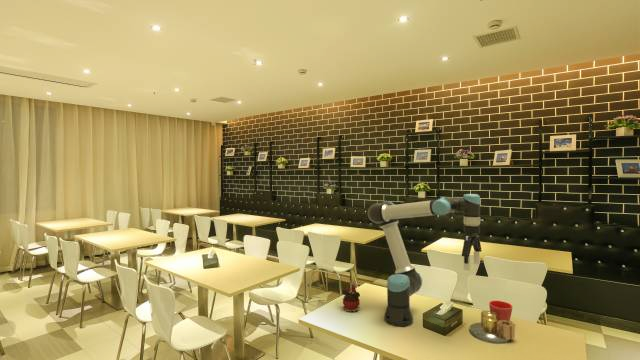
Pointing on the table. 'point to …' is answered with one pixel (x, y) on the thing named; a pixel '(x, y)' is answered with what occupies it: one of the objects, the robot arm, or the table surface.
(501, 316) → the flower pot
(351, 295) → the red vase
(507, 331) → the gear
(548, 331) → the table surface
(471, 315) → the table surface
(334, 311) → the table surface
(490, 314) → the carrier
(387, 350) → the table surface
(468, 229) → the robot arm
